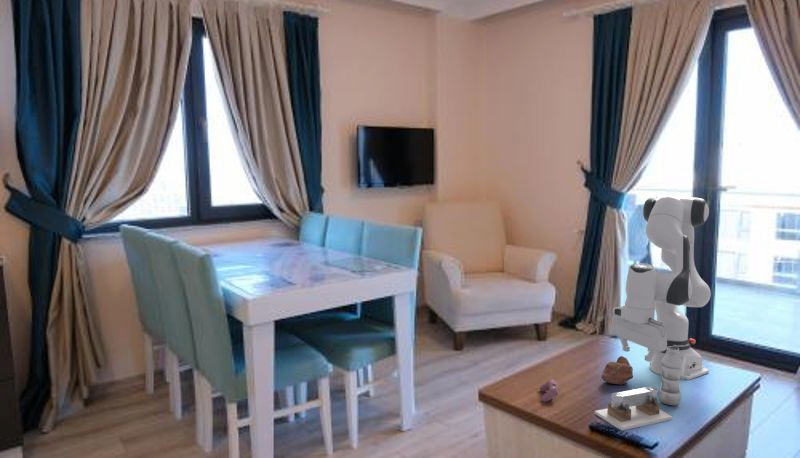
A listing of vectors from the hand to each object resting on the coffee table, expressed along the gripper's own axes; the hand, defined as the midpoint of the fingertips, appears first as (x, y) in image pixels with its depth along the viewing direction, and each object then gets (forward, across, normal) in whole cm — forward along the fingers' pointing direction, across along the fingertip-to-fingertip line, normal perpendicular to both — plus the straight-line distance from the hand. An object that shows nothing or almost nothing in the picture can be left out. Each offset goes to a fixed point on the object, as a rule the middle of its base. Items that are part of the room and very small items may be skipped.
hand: (636, 355), depth 172 cm
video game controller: (+21, +22, +17) cm, 35 cm away
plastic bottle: (+21, +3, -19) cm, 28 cm away
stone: (+21, +22, -15) cm, 34 cm away
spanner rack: (+21, 0, 0) cm, 21 cm away
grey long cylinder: (+16, 0, 0) cm, 16 cm away
